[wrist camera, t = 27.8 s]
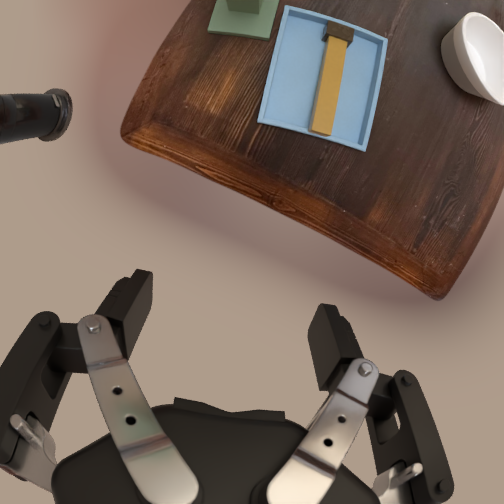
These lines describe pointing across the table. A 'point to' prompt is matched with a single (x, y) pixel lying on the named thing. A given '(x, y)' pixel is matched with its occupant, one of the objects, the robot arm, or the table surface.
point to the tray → (307, 75)
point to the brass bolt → (330, 77)
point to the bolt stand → (244, 18)
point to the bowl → (476, 56)
